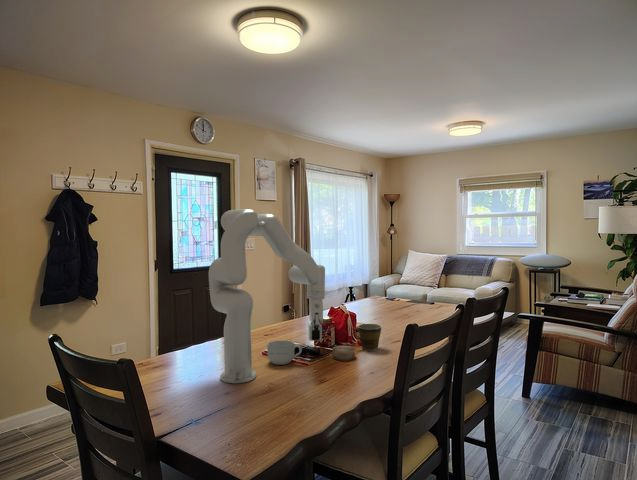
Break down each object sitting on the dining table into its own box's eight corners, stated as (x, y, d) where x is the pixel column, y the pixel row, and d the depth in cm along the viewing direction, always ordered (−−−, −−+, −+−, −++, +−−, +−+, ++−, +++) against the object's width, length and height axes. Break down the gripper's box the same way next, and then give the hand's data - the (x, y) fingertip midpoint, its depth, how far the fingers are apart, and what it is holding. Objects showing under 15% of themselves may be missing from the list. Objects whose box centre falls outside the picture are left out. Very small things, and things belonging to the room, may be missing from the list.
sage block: (321, 340, 174) (321, 326, 174) (309, 340, 173) (309, 326, 173) (320, 337, 179) (320, 323, 179) (308, 337, 178) (308, 323, 178)
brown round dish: (356, 360, 167) (356, 351, 167) (334, 361, 166) (334, 352, 166) (352, 353, 176) (352, 344, 176) (330, 354, 175) (330, 345, 175)
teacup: (261, 364, 164) (261, 344, 163) (277, 356, 173) (277, 337, 173) (292, 370, 157) (292, 348, 157) (306, 361, 167) (306, 341, 166)
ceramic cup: (381, 346, 186) (380, 323, 186) (382, 353, 176) (382, 329, 176) (351, 345, 187) (351, 323, 187) (351, 352, 178) (350, 329, 177)
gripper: (327, 297, 168) (326, 343, 168) (321, 292, 185) (321, 333, 185) (308, 297, 167) (307, 343, 167) (304, 292, 184) (304, 333, 184)
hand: (314, 337), depth 176 cm, fingers closed on sage block, 5 cm apart
